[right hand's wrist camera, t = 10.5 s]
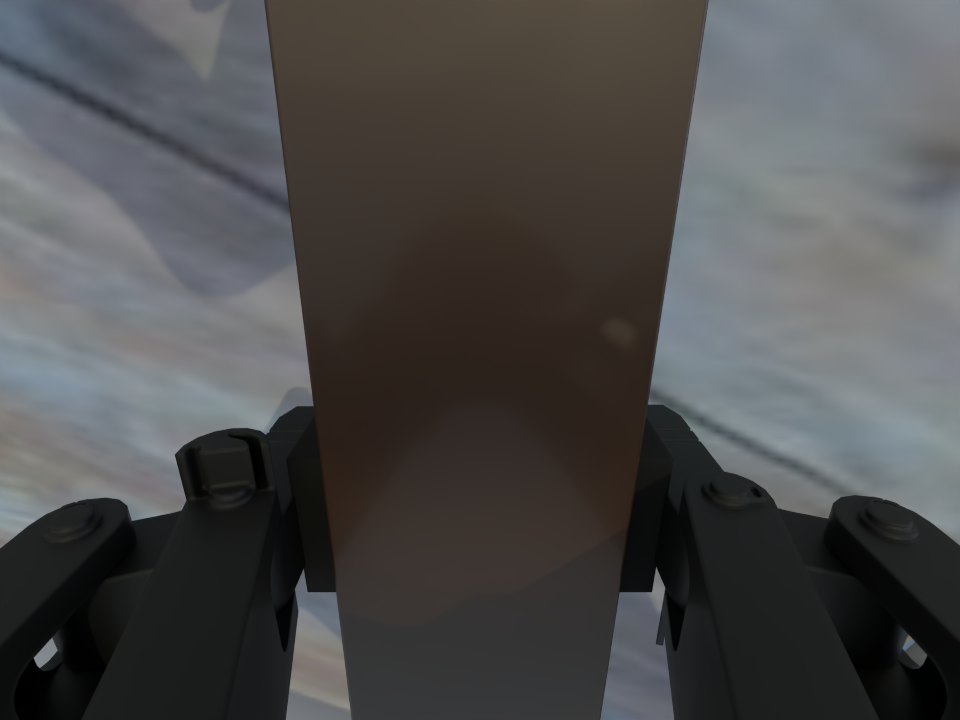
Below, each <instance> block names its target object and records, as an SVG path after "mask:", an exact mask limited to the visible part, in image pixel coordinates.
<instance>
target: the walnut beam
mask: <svg viewBox="0 0 960 720" xmlns="http://www.w3.org/2000/svg"><path fill="white" fill-rule="evenodd" d="M264 1H265V10H266V18H267V26H268V34H269V43H270V51H271V59H272V67H273V75H274V84H275V92H276V100H277V108H278V117H279V125H280V133H281V141H282V149H283V158H284V166H285V174H286V182H287V191H288V199H289V207H290V215H291V224H292V232H293V240H294V248H295V256H296V265H297V273H298V281H299V289H300V298H301V306H302V314H303V322H304V330H305V339H306V347H307V355H308V363H309V372H310V380H311V388H312V396H313V404H314V413H315V421H316V429H317V437H318V446H319V454H320V462H321V470H322V478H323V487H324V495H325V503H326V511H327V520H328V528H329V536H330V544H331V552H332V561H333V569H334V577H335V585H336V594H337V602H338V610H339V618H340V626H341V635H342V643H343V651H344V659H345V668H346V676H347V684H348V692H349V700H350V709H351V717H352V720H600V717H601V711H602V704H603V698H604V691H605V684H606V678H607V671H608V664H609V658H610V651H611V645H612V638H613V631H614V625H615V618H616V611H617V605H618V598H619V591H620V585H621V578H622V572H623V565H624V558H625V552H626V545H627V538H628V532H629V525H630V519H631V512H632V505H633V499H634V492H635V485H636V479H637V472H638V465H639V459H640V452H641V446H642V439H643V432H644V426H645V419H646V412H647V406H648V399H649V393H650V386H651V379H652V373H653V366H654V359H655V353H656V346H657V339H658V333H659V326H660V320H661V313H662V306H663V300H664V293H665V286H666V280H667V273H668V267H669V260H670V253H671V247H672V240H673V233H674V227H675V220H676V213H677V207H678V200H679V194H680V187H681V180H682V174H683V167H684V160H685V154H686V147H687V141H688V134H689V127H690V121H691V114H692V107H693V101H694V94H695V88H696V81H697V74H698V68H699V61H700V54H701V48H702V41H703V34H704V28H705V21H706V15H707V8H708V1H709V0H264Z"/></svg>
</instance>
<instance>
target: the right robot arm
mask: <svg viewBox="0 0 960 720" xmlns="http://www.w3.org/2000/svg"><path fill="white" fill-rule="evenodd" d="M175 457H176V461H177V465H178V469H179V473H180V477H181V480H182V484H183V488H184V492H185V496H186V500H187V501H186V503H185V505H184V507H183V509H182V511H178V512H175V513H171V514H166V515H161V516H155V517H150V518H145V519H140V520H135V521H132V520H131V517H130V514H129V510H128V507H127V505H126V504H124V503H123V502H122V501H120V500H118V499H111V498H97V499H86V500H81V501H78V502H77V503H75V502H73V503H70V504H67V505H65V506H63V507H61V508H59V509H57V510H55V511H53V512H50V513H48V514H46V515H44V516H43V517H41V518H40V519H38V520H37V521H35V522H34V523H32V524H31V525H29V526H28V527H27V528H25V529H24V530H23V531H22V532H20V533H19V534H18V535H17V536H15V537H14V538H13V539H12V540H10V541H9V542H8V543H7V544H5V545H4V546H3V547H2V548H0V720H286V712H287V704H288V695H289V687H290V678H291V670H292V661H293V653H294V644H295V636H296V627H297V619H298V606H297V599H296V594H295V587H296V585H297V583H298V580H299V578H300V576H301V573H302V571H303V569H304V573H305V579H306V585H307V591H308V592H336V585H335V577H334V569H333V561H332V552H331V544H330V536H329V528H328V520H327V511H326V503H325V495H324V487H323V478H322V470H321V462H320V454H319V446H318V437H317V429H316V421H315V413H314V406H297V407H295V408H294V409H292V410H290V411H289V412H287V413H286V414H284V415H282V416H281V417H279V419H278V420H277V421H276V422H275V424H274V425H273V426H272V428H271V429H270V432H269V433H267V434H266V435H265V434H264V433H262V432H261V431H258V430H254V429H249V428H232V429H226V430H221V431H216V432H212V433H209V434H207V435H204V436H201V437H198V438H196V439H194V440H193V441H191V442H189V443H187V444H186V445H184V446H183V447H182V448H181V449H180V450H179V451H178V452H177V453H176V454H175ZM656 567H657V569H658V572H659V574H660V576H661V579H662V581H663V583H664V586H665V594H664V599H663V605H662V611H661V616H660V622H659V628H658V633H657V640H656V644H658V645H663V641H664V636H665V643H666V651H667V660H668V669H669V677H670V686H671V694H672V703H673V711H674V720H960V545H958V544H957V543H956V542H955V541H953V540H952V539H951V538H950V537H948V536H947V535H946V534H945V533H943V532H942V531H941V530H940V529H938V528H937V527H936V526H935V525H933V524H932V523H931V522H929V521H928V520H926V519H925V518H923V517H921V516H920V515H918V514H917V513H915V512H913V511H911V510H909V509H907V508H904V507H902V506H900V505H899V504H897V503H895V502H891V501H888V500H883V499H881V498H876V497H867V496H857V495H853V496H847V497H841V498H839V499H838V500H837V501H836V502H834V503H833V506H832V509H831V512H830V515H829V518H828V519H826V518H821V517H816V516H811V515H806V514H801V513H796V512H790V511H786V510H782V509H778V508H777V506H776V504H775V502H774V500H773V499H772V497H771V496H770V495H769V494H768V492H767V491H766V490H765V489H763V488H762V487H760V486H759V485H758V484H756V483H755V482H753V481H751V480H749V479H746V478H744V477H742V476H739V475H737V474H732V473H728V472H724V471H723V470H722V469H721V467H720V466H719V465H718V463H717V462H716V461H715V460H714V458H713V457H712V456H711V454H710V453H709V452H708V450H707V449H706V448H705V447H704V445H703V444H702V443H701V442H699V441H698V438H697V436H696V435H695V434H694V432H693V431H690V427H689V426H688V425H687V423H686V422H685V421H684V420H683V418H682V417H681V416H680V415H679V414H677V413H675V412H674V411H672V410H670V409H669V408H667V407H666V406H664V405H648V406H647V412H646V419H645V426H644V432H643V439H642V446H641V452H640V459H639V465H638V472H637V479H636V485H635V492H634V499H633V505H632V512H631V519H630V525H629V532H628V538H627V545H626V552H625V558H624V565H623V572H622V578H621V585H620V591H619V592H652V589H653V582H654V576H655V570H656ZM51 638H53V640H54V643H55V645H56V647H57V650H58V651H57V652H56V653H55V655H54V656H53V657H52V658H51V659H50V660H49V661H48V662H47V663H46V664H45V665H43V666H42V667H41V668H39V667H38V666H37V665H36V662H35V660H34V657H35V656H36V655H37V653H38V652H39V651H40V650H41V649H42V648H43V647H44V646H45V645H46V643H47V642H48V641H49V640H50V639H51Z"/></svg>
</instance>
